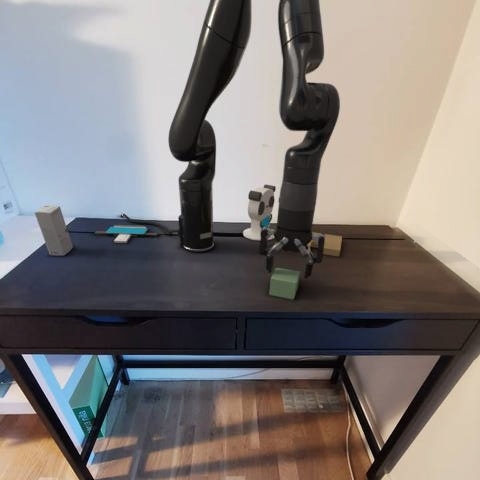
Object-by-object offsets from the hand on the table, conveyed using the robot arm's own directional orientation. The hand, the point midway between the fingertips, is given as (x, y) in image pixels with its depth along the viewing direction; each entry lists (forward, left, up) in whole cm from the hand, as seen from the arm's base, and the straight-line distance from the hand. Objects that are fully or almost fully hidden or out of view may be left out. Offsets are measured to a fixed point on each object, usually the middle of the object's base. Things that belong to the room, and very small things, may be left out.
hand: (287, 274), depth 74 cm
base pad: (+5, +32, -5) cm, 32 cm away
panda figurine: (-15, +34, -5) cm, 38 cm away
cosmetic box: (-65, -1, -5) cm, 66 cm away
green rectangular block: (0, +2, -5) cm, 5 cm away
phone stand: (-55, +16, -5) cm, 58 cm away
